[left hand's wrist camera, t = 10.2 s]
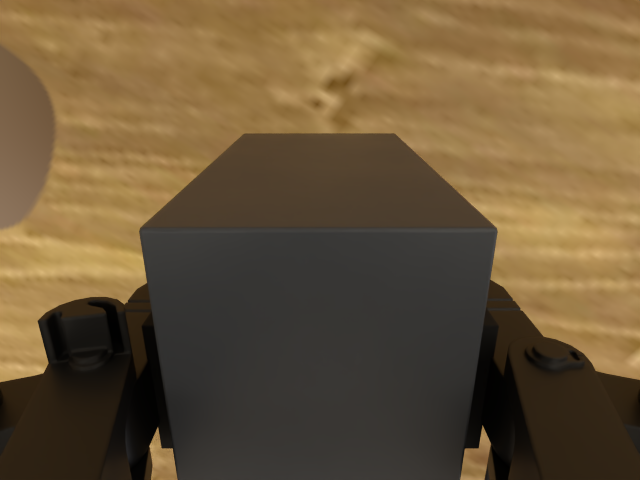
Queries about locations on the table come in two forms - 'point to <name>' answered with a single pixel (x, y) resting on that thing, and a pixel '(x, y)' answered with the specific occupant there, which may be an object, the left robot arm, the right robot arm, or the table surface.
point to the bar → (318, 312)
